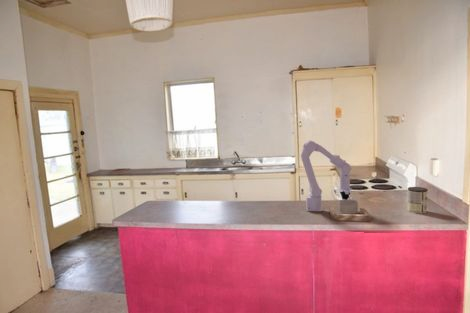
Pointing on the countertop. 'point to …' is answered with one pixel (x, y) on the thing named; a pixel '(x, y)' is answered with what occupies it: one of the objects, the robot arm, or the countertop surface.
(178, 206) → the countertop surface
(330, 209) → the wooden bay
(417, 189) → the coffee can
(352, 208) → the teacup
